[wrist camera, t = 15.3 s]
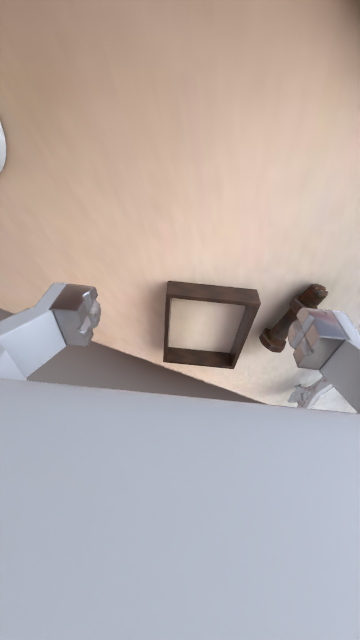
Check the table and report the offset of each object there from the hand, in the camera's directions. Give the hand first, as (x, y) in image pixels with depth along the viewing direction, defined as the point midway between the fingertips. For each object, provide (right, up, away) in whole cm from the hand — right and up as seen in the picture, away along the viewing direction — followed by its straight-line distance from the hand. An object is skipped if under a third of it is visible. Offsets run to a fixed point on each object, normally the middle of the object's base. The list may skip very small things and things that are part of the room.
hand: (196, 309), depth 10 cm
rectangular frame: (+5, -1, +41) cm, 41 cm away
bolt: (+21, +2, +37) cm, 43 cm away
